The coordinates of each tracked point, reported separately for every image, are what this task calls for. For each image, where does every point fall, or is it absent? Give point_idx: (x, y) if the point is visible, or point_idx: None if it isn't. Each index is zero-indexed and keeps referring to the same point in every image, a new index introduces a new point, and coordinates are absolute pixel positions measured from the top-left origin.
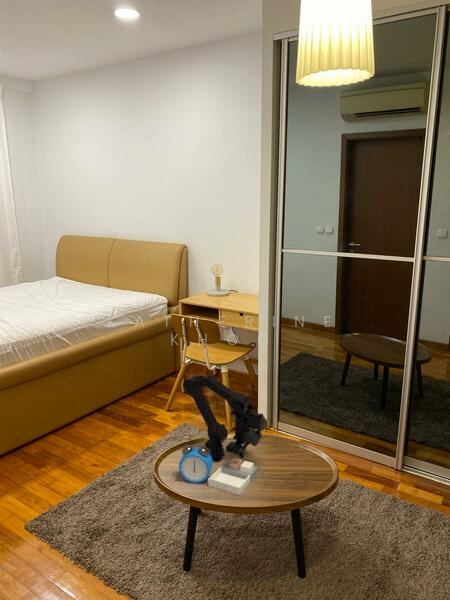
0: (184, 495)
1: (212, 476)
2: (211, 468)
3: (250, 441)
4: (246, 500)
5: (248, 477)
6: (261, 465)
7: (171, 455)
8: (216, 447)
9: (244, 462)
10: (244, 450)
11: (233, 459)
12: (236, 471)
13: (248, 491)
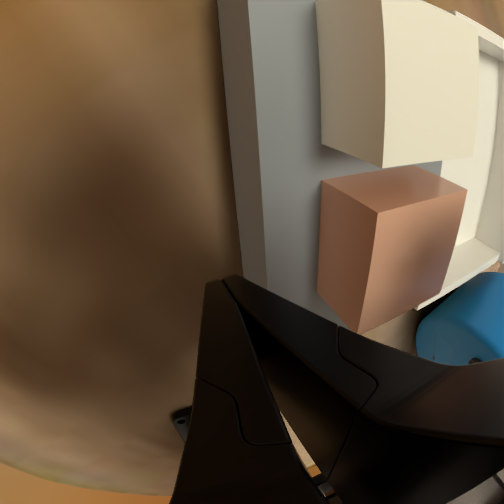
0: (499, 262)
1: (488, 262)
2: (490, 308)
3: None
4: (498, 8)
5: (472, 21)
6: (43, 44)
7: (309, 463)
8: (319, 483)
9: (418, 147)
10: (263, 378)
11: (390, 310)
12: (428, 170)
13: (462, 6)
